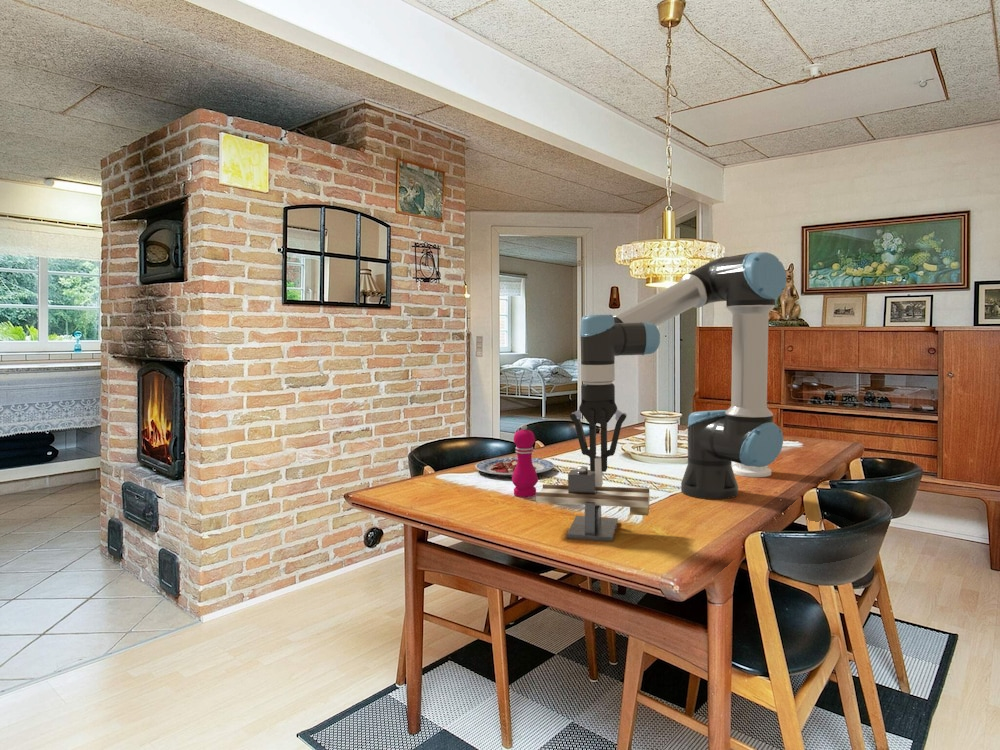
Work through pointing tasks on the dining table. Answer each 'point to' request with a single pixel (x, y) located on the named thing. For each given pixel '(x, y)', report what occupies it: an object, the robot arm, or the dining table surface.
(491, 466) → the ceramic plate
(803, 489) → the dining table surface
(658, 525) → the dining table surface
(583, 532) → the stand
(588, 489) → the block
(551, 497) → the beam
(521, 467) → the pepper mill
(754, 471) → the decorative container
